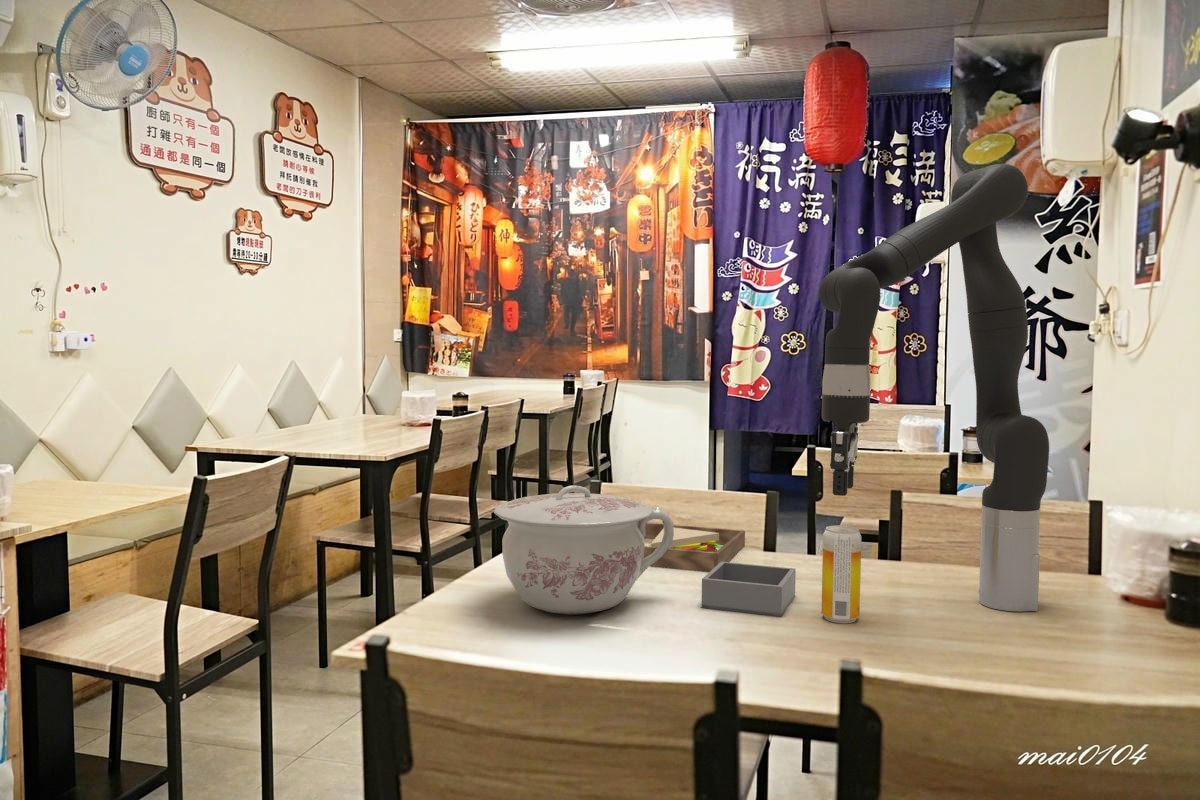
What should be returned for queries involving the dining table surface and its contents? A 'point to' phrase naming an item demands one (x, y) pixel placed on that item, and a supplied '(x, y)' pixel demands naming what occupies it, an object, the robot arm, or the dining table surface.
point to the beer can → (841, 574)
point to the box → (749, 588)
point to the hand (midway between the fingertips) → (843, 491)
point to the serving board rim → (696, 559)
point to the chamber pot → (577, 548)
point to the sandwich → (690, 540)
